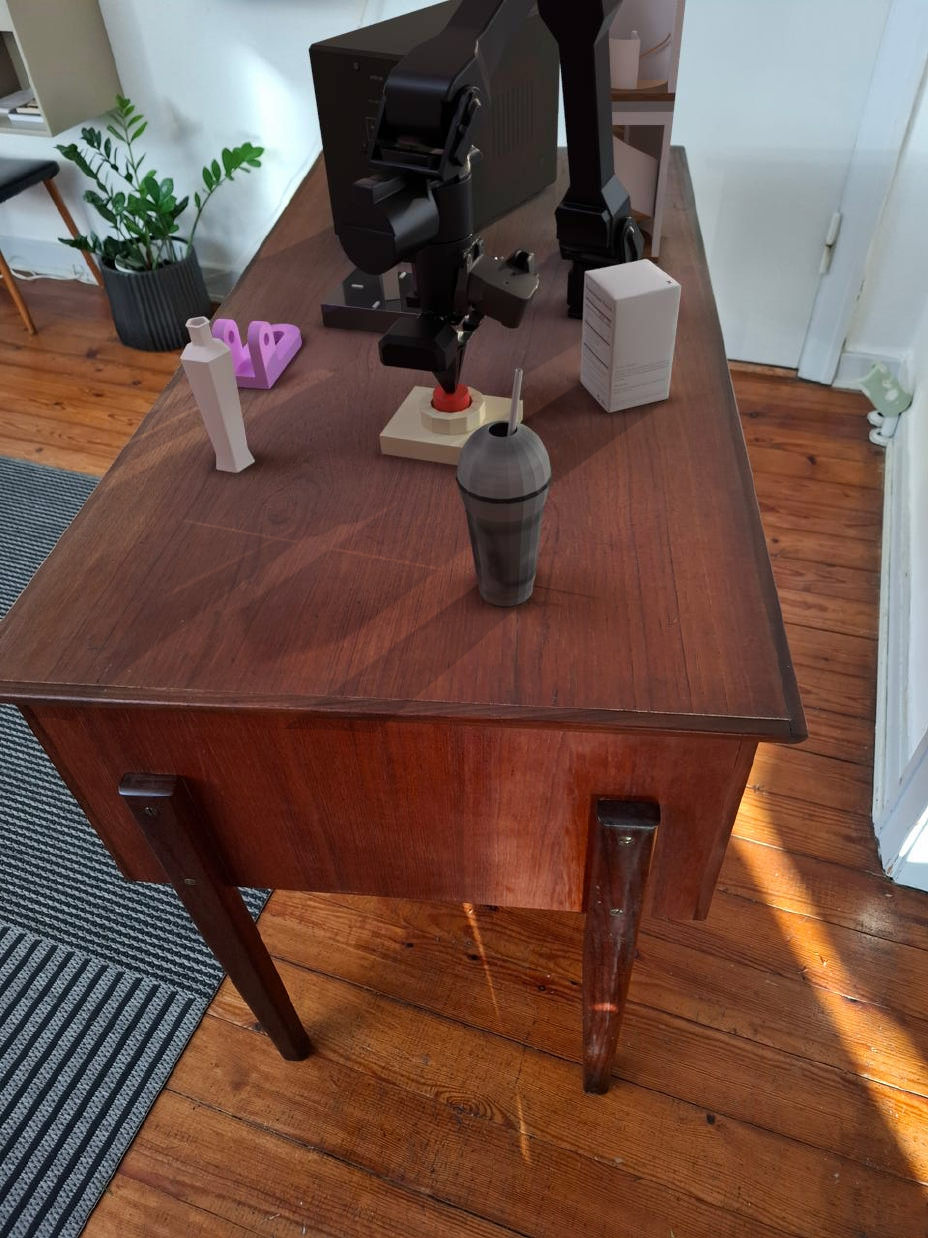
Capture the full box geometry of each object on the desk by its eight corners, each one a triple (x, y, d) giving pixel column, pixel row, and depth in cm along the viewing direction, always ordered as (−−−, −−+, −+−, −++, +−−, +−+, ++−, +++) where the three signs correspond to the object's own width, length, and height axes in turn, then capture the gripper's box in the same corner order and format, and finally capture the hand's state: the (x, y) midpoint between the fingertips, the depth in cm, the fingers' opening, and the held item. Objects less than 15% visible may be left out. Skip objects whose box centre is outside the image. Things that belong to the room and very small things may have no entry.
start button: (474, 400, 91) (473, 384, 89) (462, 418, 88) (462, 402, 87) (441, 395, 92) (439, 380, 90) (428, 413, 89) (427, 398, 88)
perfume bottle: (266, 452, 92) (232, 312, 81) (245, 476, 89) (207, 334, 78) (227, 446, 93) (189, 307, 82) (205, 469, 90) (163, 329, 79)
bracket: (269, 389, 101) (256, 331, 96) (223, 385, 102) (208, 328, 97) (308, 335, 110) (298, 280, 105) (266, 332, 111) (254, 277, 106)
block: (522, 418, 94) (522, 384, 91) (494, 471, 87) (493, 436, 84) (416, 403, 97) (413, 370, 94) (381, 453, 90) (377, 419, 88)
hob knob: (379, 280, 113) (375, 242, 110) (393, 278, 113) (389, 241, 110) (385, 300, 109) (381, 262, 106) (400, 298, 109) (396, 260, 106)
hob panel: (458, 299, 115) (456, 275, 113) (428, 338, 108) (426, 313, 106) (359, 289, 119) (356, 265, 117) (324, 326, 112) (319, 302, 109)
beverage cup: (459, 564, 77) (445, 350, 64) (542, 556, 78) (546, 342, 64) (466, 622, 72) (452, 403, 58) (556, 613, 72) (563, 393, 59)
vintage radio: (467, 164, 153) (460, -12, 136) (565, 183, 144) (570, -3, 127) (319, 239, 132) (288, 42, 115) (422, 266, 123) (406, 57, 106)
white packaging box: (638, 368, 100) (649, 256, 91) (669, 400, 95) (684, 284, 86) (577, 382, 99) (582, 269, 90) (606, 414, 94) (614, 298, 85)
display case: (581, 237, 128) (595, -69, 104) (657, 238, 126) (689, -72, 102) (576, 270, 120) (590, -53, 96) (656, 272, 118) (691, -56, 94)
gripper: (497, 284, 69) (501, 454, 80) (557, 199, 82) (553, 356, 93) (366, 271, 72) (386, 437, 83) (443, 191, 85) (452, 344, 96)
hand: (450, 391), depth 89 cm, fingers closed, pressing on start button
